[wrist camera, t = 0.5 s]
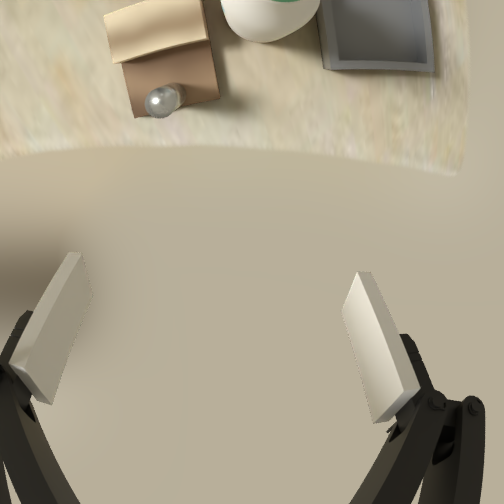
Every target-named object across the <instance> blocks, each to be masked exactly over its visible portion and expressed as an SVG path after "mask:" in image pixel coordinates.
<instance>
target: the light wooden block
mask: <svg viewBox="0 0 504 504" xmlns="http://www.w3.org/2000/svg"><path fill="white" fill-rule="evenodd" d="M104 21H105V26H106V32H107V37H108V42H109V47H110V51H111V56H112V61H113V64H117V63H123V62H126V61H129V60H132V59H135V58H138V57H141V56H145V55H148V54H151V53H155V52H159V51H162V50H166V49H170V48H174V47H178V46H182V45H186V44H190V43H195V42H200V41H205V40H209V38H208V33H207V28H206V22H205V17H204V11H203V6H202V1H201V0H146V1H143V2H140V3H137V4H134V5H131V6H128V7H125V8H122V9H119V10H117V11H114V12H111V13H109V14H106V15H104Z"/></svg>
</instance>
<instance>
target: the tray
mask: <svg viewBox="0 0 504 504" xmlns="http://www.w3.org/2000/svg"><path fill="white" fill-rule="evenodd" d="M316 18H317V24H318V31H319V38H320V45H321V53H322V61H323V69H329V70H338V69H388V70H409V71H423V72H434V54H433V41H432V31H431V22H430V14H429V7H428V0H320V4H319V7H318V9H317V11H316ZM434 73H435V72H434Z"/></svg>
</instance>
